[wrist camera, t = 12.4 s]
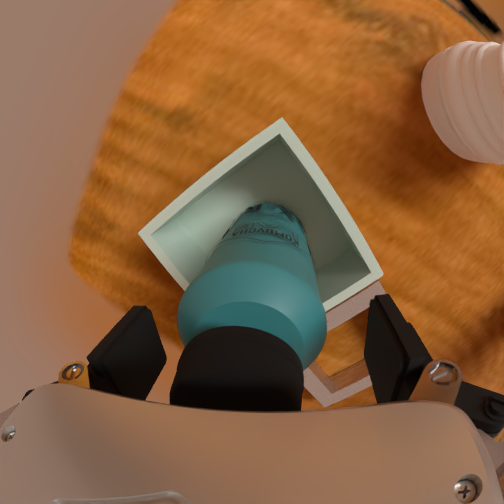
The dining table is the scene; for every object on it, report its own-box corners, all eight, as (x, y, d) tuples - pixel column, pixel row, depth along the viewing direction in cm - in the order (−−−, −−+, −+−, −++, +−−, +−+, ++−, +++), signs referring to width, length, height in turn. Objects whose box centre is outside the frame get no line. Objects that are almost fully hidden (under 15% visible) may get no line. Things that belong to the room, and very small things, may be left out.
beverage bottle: (308, 260, 26) (348, 461, 7) (240, 269, 27) (173, 463, 8) (298, 191, 24) (362, 315, 5) (225, 204, 25) (87, 336, 6)
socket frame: (408, 344, 29) (416, 359, 26) (322, 391, 33) (324, 407, 30) (369, 268, 26) (378, 280, 24) (267, 329, 30) (266, 346, 27)
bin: (360, 246, 26) (383, 274, 19) (251, 314, 30) (243, 355, 23) (281, 128, 23) (282, 117, 16) (170, 214, 27) (137, 233, 20)
